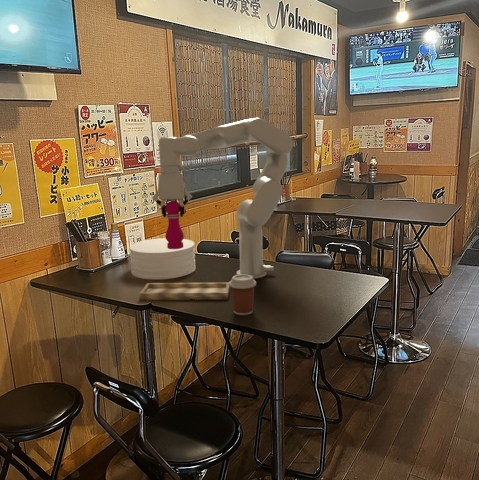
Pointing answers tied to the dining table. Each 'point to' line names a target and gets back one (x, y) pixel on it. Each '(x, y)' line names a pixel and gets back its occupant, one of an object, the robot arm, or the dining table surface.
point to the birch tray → (185, 291)
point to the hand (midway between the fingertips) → (173, 216)
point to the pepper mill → (174, 226)
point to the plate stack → (161, 259)
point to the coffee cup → (242, 293)
